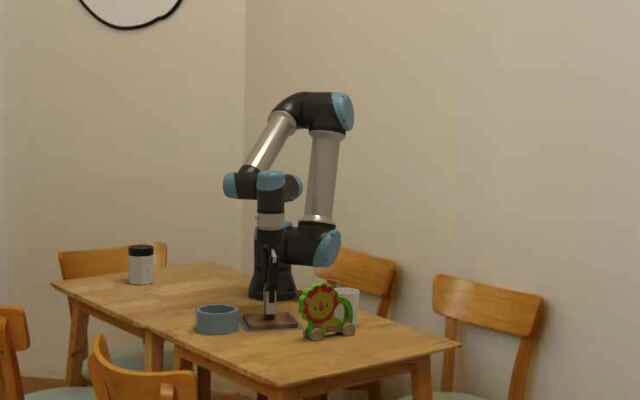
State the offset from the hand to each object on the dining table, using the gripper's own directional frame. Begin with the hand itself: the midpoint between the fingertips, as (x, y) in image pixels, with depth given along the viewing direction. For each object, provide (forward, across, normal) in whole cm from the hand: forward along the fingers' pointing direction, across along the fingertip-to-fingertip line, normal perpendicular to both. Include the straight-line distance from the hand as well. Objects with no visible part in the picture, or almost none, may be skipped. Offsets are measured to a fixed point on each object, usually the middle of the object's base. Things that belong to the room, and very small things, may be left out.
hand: (269, 312), depth 262 cm
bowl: (+4, +4, -15) cm, 16 cm away
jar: (+4, -60, -32) cm, 68 cm away
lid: (+3, 0, 0) cm, 3 cm away
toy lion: (+4, +16, +12) cm, 20 cm away
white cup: (+4, +5, +20) cm, 21 cm away
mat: (+4, 0, 0) cm, 4 cm away
